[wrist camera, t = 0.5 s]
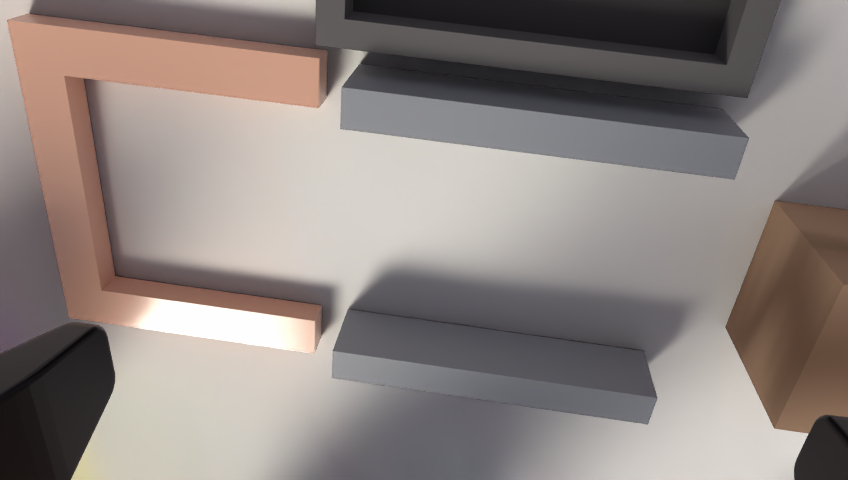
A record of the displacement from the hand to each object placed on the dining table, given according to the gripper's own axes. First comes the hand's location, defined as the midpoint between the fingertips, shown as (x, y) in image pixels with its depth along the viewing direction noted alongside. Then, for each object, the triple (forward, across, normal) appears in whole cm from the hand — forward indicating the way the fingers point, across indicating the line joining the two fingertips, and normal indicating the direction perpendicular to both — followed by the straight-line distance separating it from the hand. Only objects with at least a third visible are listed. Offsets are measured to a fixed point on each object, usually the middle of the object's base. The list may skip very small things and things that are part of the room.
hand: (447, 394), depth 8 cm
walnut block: (+14, -12, +5) cm, 19 cm away
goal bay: (+14, +9, +5) cm, 17 cm away
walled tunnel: (+14, -2, +5) cm, 15 cm away
